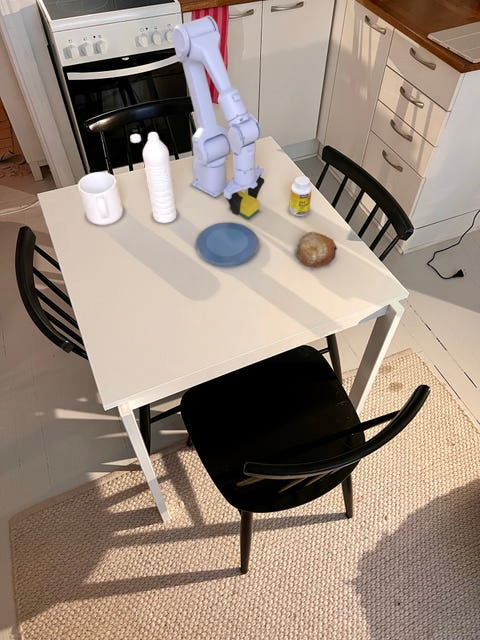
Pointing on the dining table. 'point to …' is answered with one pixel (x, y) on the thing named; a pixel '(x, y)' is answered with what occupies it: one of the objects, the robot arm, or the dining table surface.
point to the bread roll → (316, 250)
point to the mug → (100, 198)
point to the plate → (227, 244)
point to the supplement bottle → (300, 196)
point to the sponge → (248, 205)
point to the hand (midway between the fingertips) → (243, 207)
